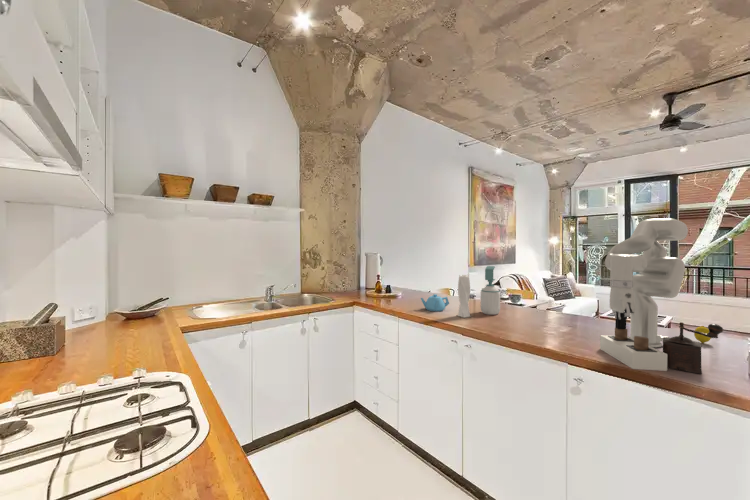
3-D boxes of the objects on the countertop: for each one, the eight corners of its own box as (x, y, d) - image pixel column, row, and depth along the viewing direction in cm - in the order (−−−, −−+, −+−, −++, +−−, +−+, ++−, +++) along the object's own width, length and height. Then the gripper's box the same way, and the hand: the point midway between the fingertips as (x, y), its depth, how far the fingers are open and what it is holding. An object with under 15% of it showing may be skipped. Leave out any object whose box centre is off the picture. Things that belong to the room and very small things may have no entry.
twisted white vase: (473, 317, 202) (474, 272, 202) (465, 318, 198) (465, 273, 197) (463, 314, 209) (463, 271, 209) (454, 316, 205) (454, 272, 204)
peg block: (628, 350, 138) (628, 335, 138) (667, 370, 116) (667, 353, 116) (600, 348, 140) (600, 334, 140) (632, 368, 118) (633, 351, 118)
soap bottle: (502, 312, 215) (502, 266, 215) (498, 316, 205) (498, 267, 204) (483, 310, 222) (483, 265, 221) (478, 314, 211) (478, 266, 211)
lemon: (708, 345, 144) (708, 327, 144) (691, 342, 149) (692, 325, 149) (713, 344, 147) (713, 326, 147) (696, 340, 152) (697, 323, 152)
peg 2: (643, 351, 123) (643, 336, 123) (651, 354, 119) (651, 339, 119) (631, 350, 124) (631, 335, 124) (638, 354, 120) (638, 338, 120)
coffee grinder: (661, 367, 119) (662, 319, 119) (662, 359, 127) (662, 314, 127) (723, 379, 108) (724, 326, 108) (719, 370, 117) (720, 320, 116)
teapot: (437, 313, 215) (437, 296, 215) (419, 309, 226) (419, 294, 226) (450, 309, 226) (450, 294, 226) (432, 306, 237) (432, 292, 237)
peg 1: (623, 341, 136) (623, 327, 136) (629, 344, 132) (629, 330, 132) (612, 340, 137) (612, 327, 137) (618, 343, 133) (618, 329, 133)
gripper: (643, 287, 126) (642, 333, 126) (620, 282, 141) (620, 324, 141) (621, 286, 127) (621, 332, 127) (601, 282, 142) (601, 324, 142)
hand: (620, 328), depth 134 cm, fingers closed
